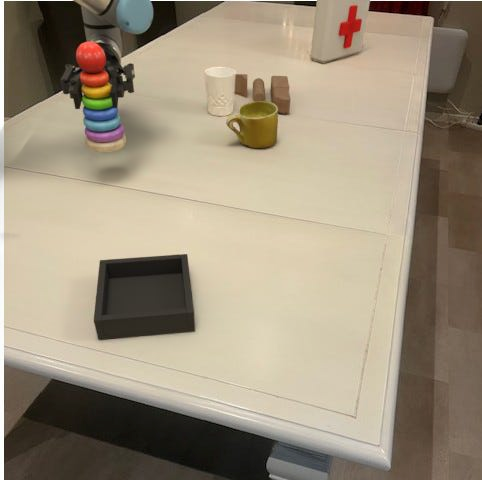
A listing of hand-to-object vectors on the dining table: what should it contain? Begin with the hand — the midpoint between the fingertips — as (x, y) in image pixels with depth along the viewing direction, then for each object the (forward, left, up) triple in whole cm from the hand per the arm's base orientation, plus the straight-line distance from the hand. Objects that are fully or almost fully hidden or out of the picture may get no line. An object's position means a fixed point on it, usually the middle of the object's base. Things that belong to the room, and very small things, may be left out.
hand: (95, 100), depth 86 cm
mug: (+32, +18, -18) cm, 41 cm away
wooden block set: (+38, +44, -18) cm, 61 cm away
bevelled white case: (+73, +83, -18) cm, 112 cm away
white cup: (+27, +38, -18) cm, 50 cm away
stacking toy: (0, +5, -11) cm, 12 cm away
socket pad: (+7, -36, -17) cm, 40 cm away
